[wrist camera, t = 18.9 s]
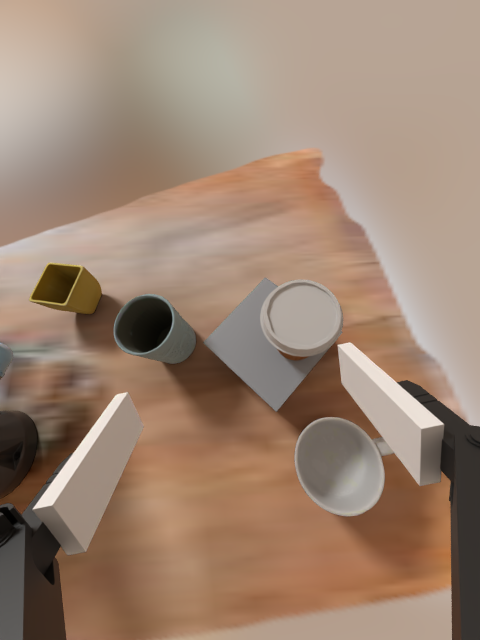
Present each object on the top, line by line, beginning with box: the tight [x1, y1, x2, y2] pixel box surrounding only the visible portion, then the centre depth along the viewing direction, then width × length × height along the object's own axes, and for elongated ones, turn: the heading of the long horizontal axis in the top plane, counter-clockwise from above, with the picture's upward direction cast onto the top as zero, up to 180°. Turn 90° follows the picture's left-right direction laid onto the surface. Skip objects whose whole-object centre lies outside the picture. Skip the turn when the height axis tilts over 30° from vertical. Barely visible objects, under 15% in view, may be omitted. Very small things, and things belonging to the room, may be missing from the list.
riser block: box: [203, 278, 342, 412], centre depth 42 cm, size 16×16×6 cm
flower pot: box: [29, 263, 102, 314], centre depth 51 cm, size 9×9×9 cm
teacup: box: [295, 417, 394, 516], centre depth 33 cm, size 14×11×8 cm
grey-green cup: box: [114, 294, 196, 364], centre depth 42 cm, size 10×10×12 cm
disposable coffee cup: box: [260, 280, 343, 361], centre depth 33 cm, size 10×10×12 cm
